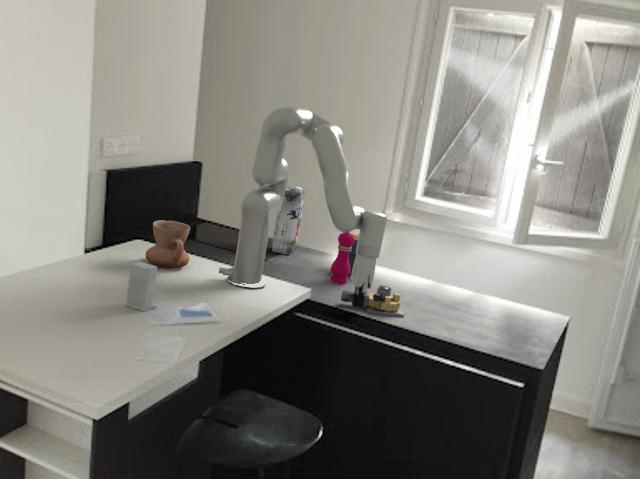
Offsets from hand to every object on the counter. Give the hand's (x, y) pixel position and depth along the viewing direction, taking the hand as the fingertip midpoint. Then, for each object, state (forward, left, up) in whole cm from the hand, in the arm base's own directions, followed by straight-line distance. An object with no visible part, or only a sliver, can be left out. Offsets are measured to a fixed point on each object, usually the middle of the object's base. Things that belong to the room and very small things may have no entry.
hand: (357, 306), depth 219 cm
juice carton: (-15, +68, -2) cm, 70 cm away
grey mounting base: (+10, +6, -2) cm, 12 cm away
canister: (+11, +48, -2) cm, 49 cm away
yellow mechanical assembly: (+6, +6, -1) cm, 8 cm away
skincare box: (-66, -18, -2) cm, 68 cm away
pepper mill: (+1, +33, -2) cm, 33 cm away
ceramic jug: (-60, +26, -2) cm, 65 cm away
